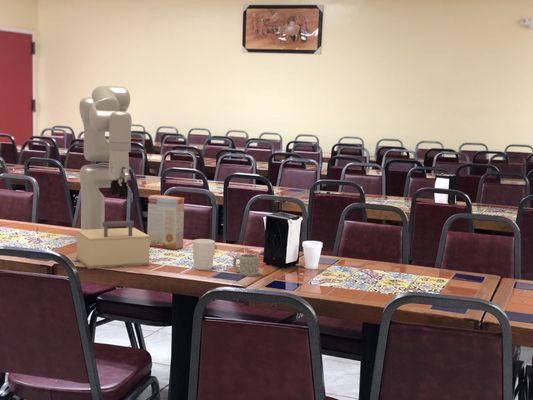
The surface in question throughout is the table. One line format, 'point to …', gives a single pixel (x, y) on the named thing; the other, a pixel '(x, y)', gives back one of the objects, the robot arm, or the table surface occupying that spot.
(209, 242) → the white cup
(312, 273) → the table surface
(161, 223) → the cracker box
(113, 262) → the carton
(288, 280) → the table surface
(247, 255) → the mug
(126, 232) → the carton lid
